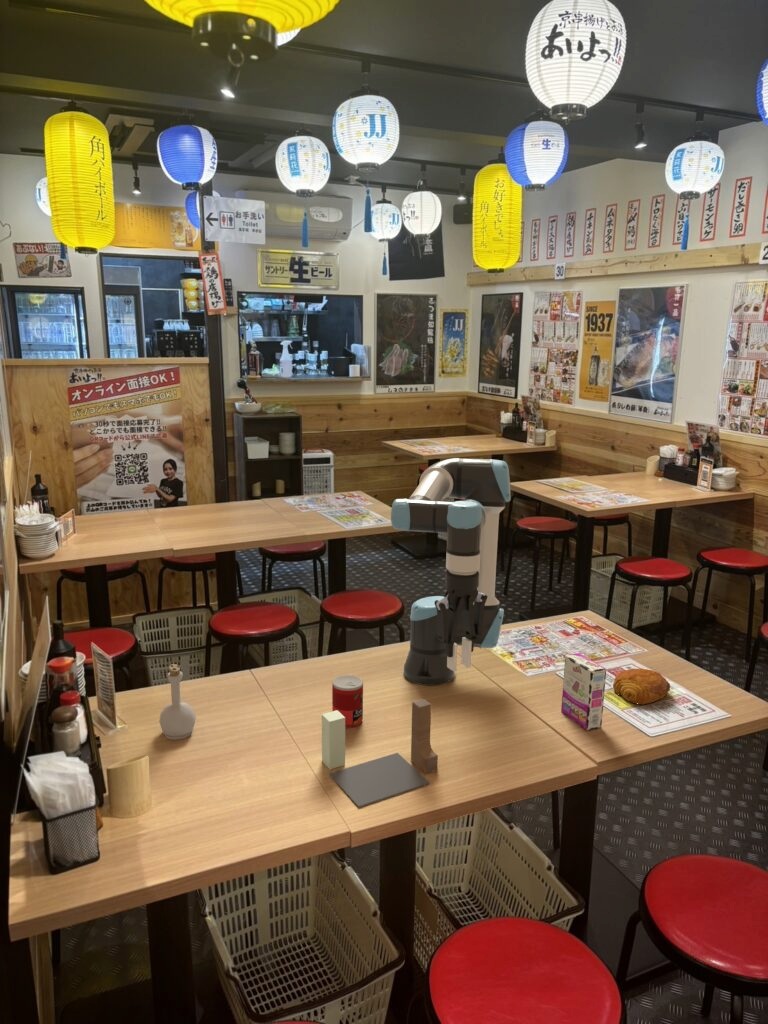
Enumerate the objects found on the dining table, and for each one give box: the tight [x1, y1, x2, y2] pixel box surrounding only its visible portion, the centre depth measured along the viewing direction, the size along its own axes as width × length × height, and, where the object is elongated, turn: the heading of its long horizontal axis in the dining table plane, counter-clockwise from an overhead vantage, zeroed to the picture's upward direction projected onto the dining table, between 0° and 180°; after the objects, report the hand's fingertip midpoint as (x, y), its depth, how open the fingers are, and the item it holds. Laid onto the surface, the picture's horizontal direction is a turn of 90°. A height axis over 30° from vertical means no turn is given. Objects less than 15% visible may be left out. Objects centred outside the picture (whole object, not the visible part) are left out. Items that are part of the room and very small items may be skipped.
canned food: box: [331, 675, 364, 729], centre depth 189 cm, size 8×8×11 cm
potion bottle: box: [158, 663, 197, 741], centre depth 181 cm, size 9×9×18 cm
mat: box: [328, 752, 431, 809], centre depth 164 cm, size 18×14×1 cm
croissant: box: [612, 668, 671, 705], centre depth 207 cm, size 14×16×8 cm
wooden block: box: [410, 698, 439, 774], centre depth 169 cm, size 7×3×15 cm, turn 30°
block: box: [321, 710, 346, 770], centre depth 169 cm, size 4×4×12 cm
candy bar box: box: [560, 652, 607, 731], centre depth 190 cm, size 11×5×16 cm, turn 23°
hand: (458, 666), depth 170 cm, fingers open, 3 cm apart
